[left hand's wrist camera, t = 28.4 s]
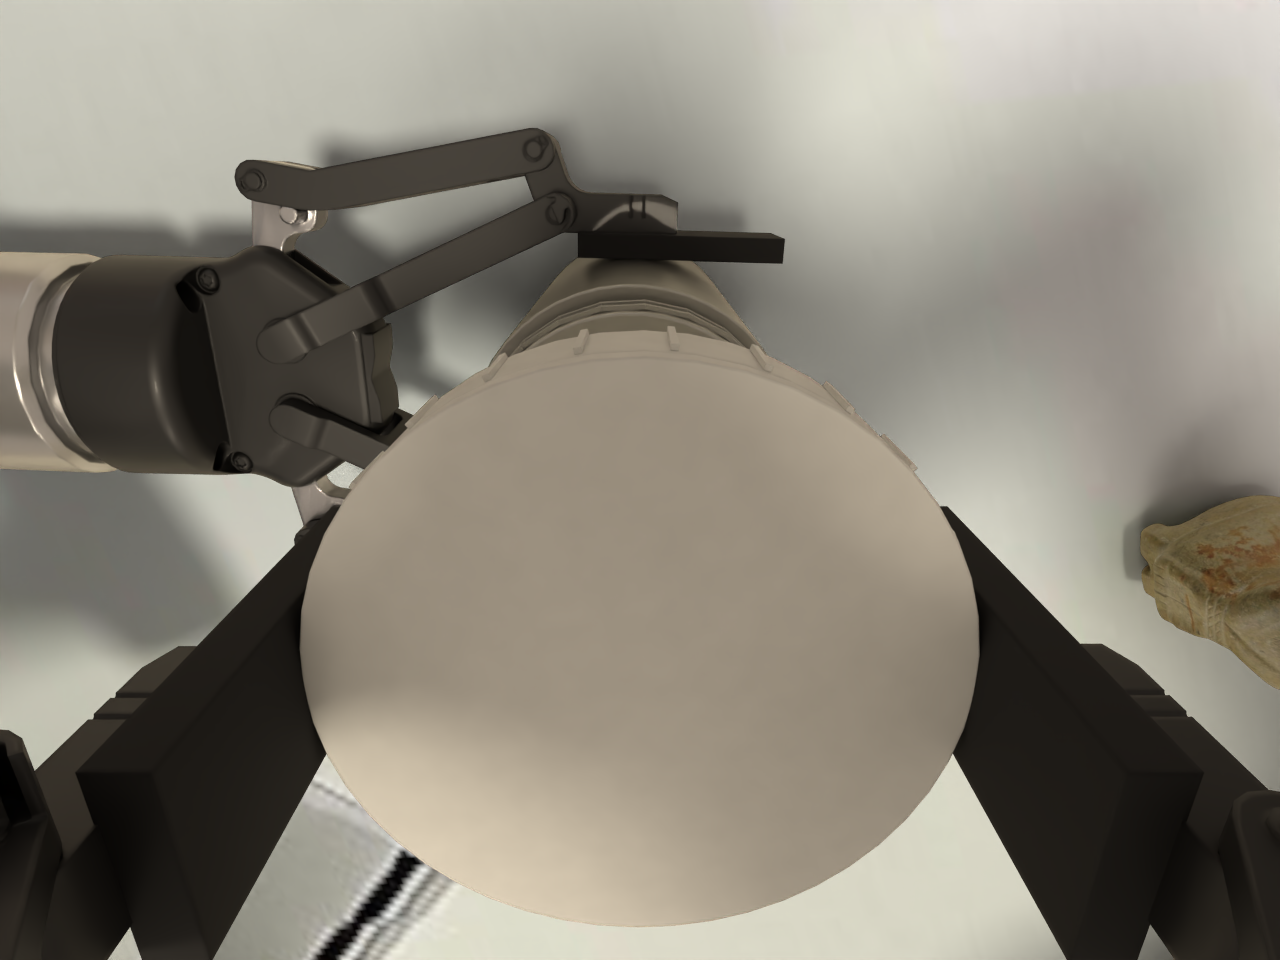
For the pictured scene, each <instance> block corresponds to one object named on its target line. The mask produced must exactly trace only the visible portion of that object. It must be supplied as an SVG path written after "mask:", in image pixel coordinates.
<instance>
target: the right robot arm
mask: <svg viewBox="0 0 1280 960" xmlns="http://www.w3.org/2000/svg"><path fill="white" fill-rule="evenodd" d="M522 176H525V177H526V180H527V183H528V186H529V188H530V191H531V194H532V197H533V199H534V201H533V202H531V203H529V204H527V205H525V206H522V207H520V208H518V209H516V210H514V211H512V212H510V213H508V214H506V215H504V216H501V217H499V218H497V219H495V220H493V221H491V222H489V223H487V224H485V225H483V226H481V227H478V228H476V229H474V230H472V231H470V232H468V233H466V234H464V235H462V236H460V237H458V238H455V239H453V240H451V241H449V242H447V243H445V244H443V245H441V246H439V247H437V248H434V249H432V250H430V251H428V252H426V253H424V254H422V255H420V256H418V257H416V258H414V259H411V260H409V261H407V262H405V263H403V264H401V265H399V266H397V267H395V268H393V269H390V270H388V271H386V272H384V273H382V274H380V275H378V276H376V277H374V278H371V279H369V280H367V281H365V282H362V283H360V284H358V285H356V286H354V287H352V288H350V287H349V286H347V285H346V284H344V283H343V282H342V281H340V280H339V279H337V278H336V277H334V276H333V275H332V274H330V273H329V272H327V271H326V270H325V269H323V268H322V267H320V266H319V265H317V264H316V263H315V262H313V261H312V260H310V259H309V258H308V257H306V256H305V255H303V254H302V253H300V252H299V251H298V250H296V249H295V243H296V240H297V238H298V237H299V236H300V235H301V234H302V233H305V232H311V231H317V230H319V229H321V228H322V227H323V226H324V225H325V224H326V222H327V217H328V210H335V209H345V208H354V207H362V206H368V205H374V204H379V203H384V202H390V201H395V200H400V199H405V198H411V197H416V196H421V195H427V194H432V193H437V192H442V191H448V190H453V189H458V188H464V187H469V186H474V185H479V184H485V183H490V182H495V181H501V180H506V179H511V178H516V177H522ZM235 182H236V186H237V187H238V189H239V191H240V192H241V194H243V195H244V196H245V197H246V198H247V199H250V200H252V246H251V247H248V248H246V249H244V250H242V251H241V252H239V253H237V254H236V255H234V256H232V257H228V258H217V257H182V256H147V255H111V256H107V257H103V258H99V257H96V256H93V255H90V254H79V253H34V252H0V469H19V470H43V471H68V472H92V473H99V472H112V471H115V470H117V469H119V470H122V471H125V472H132V473H163V474H205V475H228V474H246V473H250V474H257V475H261V476H264V477H267V478H270V479H272V480H274V481H276V482H278V483H280V484H282V485H285V486H289V487H291V488H292V491H293V494H294V497H295V500H296V503H297V506H298V509H299V512H300V515H301V518H302V521H303V525H304V526H303V527H302V529H301V530H300V531H299V532H298V533H297V534H296V536H295V538H294V543H295V544H296V543H297V542H298V541H299V540H300V539H301V538H302V537H303V536H304V535H305V534H306V533H307V532H308V531H309V530H310V529H311V528H312V527H313V526H314V525H315V524H316V523H317V522H318V521H319V520H320V519H321V518H322V517H323V515H324V514H325V513H326V512H327V511H328V510H329V509H330V508H331V507H332V506H341V505H342V503H343V501H344V499H345V498H346V496H347V495H348V494H349V493H350V492H351V490H352V489H349V488H341V487H338V486H336V485H334V484H333V483H332V482H331V481H330V480H329V479H328V477H327V474H328V473H329V472H331V471H332V470H334V469H335V468H336V467H338V466H339V465H341V464H342V463H344V462H345V461H346V462H349V463H351V464H353V465H356V466H358V467H360V468H362V469H365V468H366V467H367V466H368V465H369V464H370V463H371V462H372V461H373V460H374V459H375V458H376V457H377V456H378V455H379V454H380V453H381V452H382V451H384V452H385V451H386V450H387V449H388V448H389V447H390V446H391V445H392V444H393V443H394V442H395V441H396V440H397V439H398V438H399V436H400V435H401V434H402V433H403V432H404V431H405V430H406V429H407V427H406V426H405V424H406V422H407V421H408V420H409V419H410V418H411V417H412V416H413V415H412V414H409V413H407V412H405V411H403V410H401V409H398V407H399V400H398V390H397V385H396V382H395V380H394V377H393V374H392V372H391V369H390V359H391V354H392V348H393V339H392V329H391V324H389V323H385V321H384V319H383V317H384V316H386V315H388V314H390V313H392V312H394V311H397V310H399V309H401V308H403V307H405V306H407V305H409V304H411V303H414V302H416V301H418V300H420V299H422V298H424V297H426V296H429V295H431V294H433V293H435V292H437V291H439V290H441V289H444V288H446V287H448V286H450V285H452V284H454V283H456V282H459V281H461V280H463V279H465V278H467V277H469V276H471V275H474V274H476V273H478V272H480V271H482V270H484V269H486V268H488V267H491V266H493V265H495V264H497V263H499V262H501V261H503V260H506V259H508V258H510V257H512V256H514V255H516V254H518V253H521V252H523V251H525V250H527V249H529V248H531V247H533V246H536V245H538V244H540V243H542V242H544V241H546V240H548V239H551V238H553V237H555V236H557V235H559V234H561V233H578V258H601V259H636V260H671V261H707V262H742V263H777V264H783V253H784V243H785V239H784V238H781V237H779V236H776V235H774V234H771V233H747V232H713V231H678V230H677V213H678V202H676V201H674V200H672V199H669V198H667V197H665V196H663V195H658V194H625V193H591V192H585V191H583V190H581V189H579V188H578V187H577V186H575V184H574V183H573V182H572V181H571V179H570V177H569V174H568V171H567V168H566V166H565V163H564V160H563V157H562V154H561V148H560V146H559V143H558V141H557V140H556V139H555V138H554V137H553V136H552V135H550V134H548V133H546V132H545V131H543V130H540V129H538V128H528V129H523V130H517V131H512V132H507V133H502V134H497V135H491V136H486V137H481V138H476V139H471V140H466V141H460V142H455V143H450V144H445V145H440V146H434V147H429V148H424V149H419V150H414V151H409V152H403V153H398V154H393V155H388V156H383V157H377V158H372V159H367V160H362V161H357V162H351V163H346V164H341V165H336V166H331V167H326V168H319V167H314V166H309V165H303V164H298V163H293V162H285V161H265V160H246V161H244V162H242V163H240V164H239V166H238V167H237V169H236V172H235Z"/></svg>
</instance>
